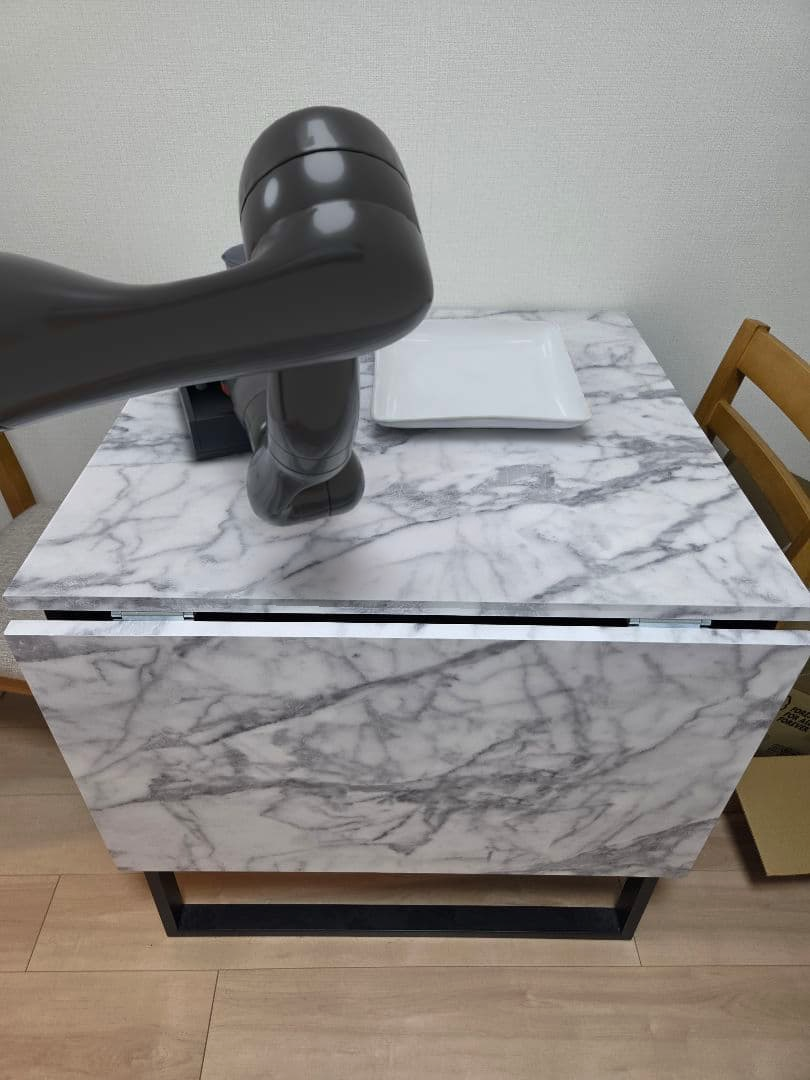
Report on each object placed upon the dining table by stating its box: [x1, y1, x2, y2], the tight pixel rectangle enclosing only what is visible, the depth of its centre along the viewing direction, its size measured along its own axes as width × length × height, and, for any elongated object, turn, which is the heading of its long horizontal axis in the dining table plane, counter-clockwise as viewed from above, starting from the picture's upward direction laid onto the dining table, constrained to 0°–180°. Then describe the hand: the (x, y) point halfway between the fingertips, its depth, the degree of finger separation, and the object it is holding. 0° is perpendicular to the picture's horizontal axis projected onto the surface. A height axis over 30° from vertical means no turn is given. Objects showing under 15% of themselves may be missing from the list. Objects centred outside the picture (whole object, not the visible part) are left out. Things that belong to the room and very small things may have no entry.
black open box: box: [177, 381, 253, 462], centre depth 95 cm, size 17×17×6 cm
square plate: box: [370, 318, 593, 429], centre depth 101 cm, size 27×27×4 cm
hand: (239, 332), depth 91 cm, fingers closed on soda can, 7 cm apart
